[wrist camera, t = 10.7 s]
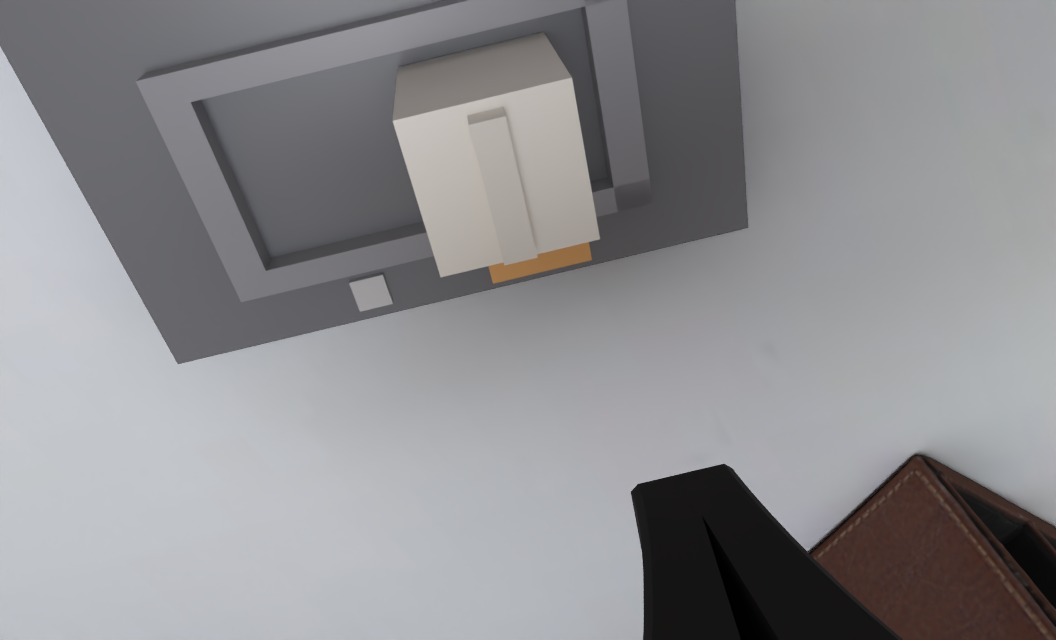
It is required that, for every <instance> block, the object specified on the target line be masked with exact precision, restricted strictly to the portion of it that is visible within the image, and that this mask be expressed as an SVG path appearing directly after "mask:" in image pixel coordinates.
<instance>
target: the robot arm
mask: <svg viewBox="0 0 1056 640" xmlns="http://www.w3.org/2000/svg"><path fill="white" fill-rule="evenodd" d="M631 495H632V501H633V506H634V511H635V517H636V522H637V527H638V533H639V538H640V543H641V549H642V557H643V572H644V635H643V640H903V639H902V638H901V637H899V636H898V635H897V634H896V633H895V632H894V631H892V630H891V629H890V628H889V627H888V626H887V625H886V624H884V623H883V622H882V621H881V620H880V619H879V618H878V617H876V616H875V615H874V614H873V613H872V612H871V611H869V610H868V609H867V608H866V607H865V606H864V605H863V604H862V603H861V602H860V601H858V600H857V599H856V598H855V597H854V596H853V595H852V594H851V593H850V592H849V591H847V590H846V589H845V588H844V587H843V586H842V585H841V584H840V583H839V582H838V581H837V580H836V579H835V578H834V577H833V576H832V575H831V574H830V573H829V572H828V571H827V570H826V569H824V568H823V567H822V566H821V565H820V564H819V563H818V562H817V561H816V560H815V559H814V558H813V557H812V556H811V555H810V554H809V553H808V552H807V551H806V550H805V549H804V548H803V547H802V546H801V545H800V544H799V543H798V542H797V541H796V540H795V539H794V538H793V537H792V536H791V535H790V534H789V533H788V532H787V531H786V529H785V528H784V527H783V526H782V525H781V524H780V523H779V522H778V521H777V520H776V519H775V518H774V517H773V516H772V515H771V513H770V512H769V511H768V510H767V509H766V508H765V507H764V506H763V505H762V503H761V502H760V501H759V500H758V499H757V498H756V497H755V495H754V494H753V493H752V492H751V491H750V490H749V488H748V487H747V486H746V485H745V484H744V483H743V481H742V480H741V479H740V478H739V476H738V475H737V474H736V473H735V471H734V470H733V469H732V468H731V467H729V466H727V465H725V464H721V465H717V466H713V467H709V468H704V469H700V470H696V471H692V472H687V473H683V474H679V475H675V476H670V477H666V478H662V479H658V480H653V481H649V482H645V483H641V484H638V485H637V486H636V487H635V488H634V489H633V490H632V491H631Z"/></svg>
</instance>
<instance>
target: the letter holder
mask: <svg viewBox="0 0 1056 640" xmlns="http://www.w3.org/2000/svg"><path fill="white" fill-rule="evenodd" d="M810 555H811V556H812V557H813V558H814V559H815V560H816V561H817V562H818V563H819V564H820V565H821V566H822V567H823V568H824V569H826V570H827V571H828V572H829V573H830V574H831V575H832V576H833V577H834V578H835V579H836V580H837V581H838V582H839V583H840V584H841V585H842V586H843V587H844V588H845V589H846V590H847V591H849V592H850V593H851V594H852V595H853V596H854V597H855V598H856V599H857V600H858V601H860V602H861V603H862V604H863V605H864V606H865V607H866V608H867V609H868V610H869V611H871V612H872V613H873V614H874V615H875V616H876V617H878V618H879V619H880V620H881V621H882V622H883V623H884V624H886V625H887V626H888V627H889V628H890V629H891V630H892V631H894V632H895V633H896V634H897V635H898V636H899V637H901V638H902V639H903V640H1056V528H1054V527H1053V526H1051V525H1049V524H1047V523H1046V522H1044V521H1042V520H1040V519H1039V518H1037V517H1035V516H1033V515H1031V514H1030V513H1028V512H1026V511H1024V510H1023V509H1021V508H1019V507H1017V506H1015V505H1013V504H1012V503H1010V502H1008V501H1006V500H1005V499H1003V498H1001V497H999V496H998V495H996V494H994V493H992V492H991V491H989V490H987V489H985V488H984V487H982V486H980V485H978V484H976V483H975V482H973V481H972V480H970V479H968V478H966V477H964V476H962V475H960V474H958V473H957V472H955V471H953V470H951V469H949V468H947V467H946V466H944V465H942V464H940V463H938V462H936V461H934V460H932V459H930V458H927V457H922V456H918V455H916V456H914V457H912V458H911V460H910V461H909V463H908V464H907V465H906V466H905V467H904V468H903V469H902V470H901V471H900V472H899V473H898V474H896V475H895V476H894V477H893V478H892V479H891V480H890V481H889V482H888V483H887V484H886V485H885V486H884V487H882V488H881V489H880V490H879V491H878V492H877V493H876V494H875V495H874V496H873V497H872V498H871V499H869V500H868V501H867V502H866V503H865V504H864V505H863V506H862V507H861V508H860V509H858V510H857V511H856V512H855V513H854V514H853V515H852V516H851V517H850V518H848V519H847V520H846V521H845V522H844V523H843V524H842V525H841V526H840V527H839V528H838V529H836V530H835V531H834V532H833V533H832V534H831V535H830V536H829V537H828V538H827V539H826V540H825V541H823V542H822V543H821V544H820V545H819V546H818V547H817V548H816V549H815V550H813V551H812V552H811V553H810Z"/></svg>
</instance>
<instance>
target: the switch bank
mask: <svg viewBox="0 0 1056 640" xmlns="http://www.w3.org/2000/svg"><path fill="white" fill-rule="evenodd" d="M540 32H544V34H545V35H546V37H547V38H548V40H549V42H550V43H551V45H552V46H553V48H554V50H555V51H556V53H557V54H558V56H559V58H560V59H561V61H562V62H563V64H564V66H565V67H566V69H567V70H568V72H569V74H570V75H571V77H572V81H573V87H574V92H575V98H576V104H577V110H578V115H579V121H580V127H581V132H582V138H583V144H584V150H585V155H586V161H587V167H588V173H589V178H590V184H591V190H592V196H593V201H594V207H595V213H596V219H597V224H598V230H599V236H600V239H599V240H595V241H591V242H587V243H583V244H578V245H574V246H570V247H566V248H562V249H558V250H553V251H549V252H545V253H541V254H537V257H538V258H534V259H530V260H526V261H521V262H517V263H513V264H509V265H505V266H504V262H503V263H499V264H495V265H491V266H487V267H482V268H478V269H474V270H470V271H466V272H462V273H457V274H453V275H449V276H445V277H440V274H439V270H438V267H437V264H436V261H435V257H434V254H433V251H432V248H431V244H430V241H429V238H428V235H427V231H426V228H425V225H424V222H423V218H422V215H421V212H420V209H419V205H418V202H417V199H416V196H415V192H414V189H413V186H412V183H411V179H410V176H409V173H408V170H407V166H406V163H405V160H404V157H403V153H402V150H401V147H400V144H399V140H398V137H397V134H396V131H395V127H394V124H393V111H394V100H395V90H396V80H397V70H398V67H400V66H404V65H408V64H413V63H417V62H421V61H425V60H429V59H433V58H437V57H441V56H446V55H450V54H454V53H458V52H462V51H466V50H470V49H474V48H478V47H483V46H487V45H491V44H495V43H499V42H503V41H507V40H511V39H516V38H520V37H524V36H528V35H532V34H536V33H540ZM0 46H1V48H2V50H3V52H4V53H5V55H6V57H7V59H8V61H9V62H10V64H11V66H12V68H13V70H14V71H15V73H16V75H17V77H18V79H19V80H20V82H21V84H22V86H23V87H24V89H25V91H26V93H27V95H28V96H29V98H30V100H31V102H32V104H33V105H34V107H35V109H36V111H37V113H38V114H39V116H40V118H41V120H42V122H43V123H44V125H45V127H46V129H47V130H48V132H49V134H50V136H51V138H52V139H53V141H54V143H55V145H56V147H57V148H58V150H59V152H60V154H61V156H62V157H63V159H64V161H65V163H66V165H67V166H68V168H69V170H70V172H71V173H72V175H73V177H74V179H75V181H76V182H77V184H78V186H79V188H80V190H81V191H82V193H83V195H84V197H85V199H86V200H87V202H88V204H89V206H90V208H91V209H92V211H93V213H94V215H95V216H96V218H97V220H98V222H99V224H100V225H101V227H102V229H103V231H104V233H105V234H106V236H107V238H108V240H109V242H110V243H111V245H112V247H113V249H114V251H115V252H116V254H117V256H118V258H119V259H120V261H121V263H122V265H123V267H124V268H125V270H126V272H127V274H128V276H129V277H130V279H131V281H132V283H133V285H134V286H135V288H136V290H137V292H138V294H139V295H140V297H141V299H142V301H143V302H144V304H145V306H146V308H147V310H148V311H149V313H150V315H151V317H152V319H153V320H154V322H155V324H156V326H157V328H158V329H159V331H160V333H161V335H162V337H163V338H164V340H165V342H166V344H167V345H168V347H169V349H170V351H171V353H172V354H173V356H174V358H175V360H176V362H177V363H178V364H181V363H185V362H189V361H193V360H197V359H202V358H206V357H210V356H214V355H218V354H222V353H227V352H231V351H235V350H239V349H243V348H248V347H252V346H256V345H260V344H264V343H268V342H273V341H277V340H281V339H285V338H289V337H293V336H298V335H302V334H306V333H310V332H314V331H319V330H323V329H327V328H331V327H335V326H339V325H344V324H348V323H352V322H356V321H360V320H364V319H369V318H373V317H377V316H381V315H385V314H390V313H394V312H398V311H402V310H406V309H410V308H415V307H419V306H423V305H427V304H431V303H436V302H440V301H444V300H448V299H452V298H456V297H461V296H465V295H469V294H473V293H477V292H481V291H486V290H490V289H494V288H498V287H502V286H507V285H511V284H515V283H519V282H523V281H527V280H532V279H536V278H540V277H544V276H548V275H553V274H557V273H561V272H565V271H569V270H573V269H578V268H582V267H586V266H590V265H594V264H598V263H603V262H607V261H611V260H615V259H619V258H624V257H628V256H632V255H636V254H640V253H644V252H649V251H653V250H657V249H661V248H665V247H669V246H674V245H678V244H682V243H686V242H690V241H695V240H699V239H703V238H707V237H711V236H715V235H720V234H724V233H728V232H732V231H736V230H741V229H745V228H748V217H747V199H746V182H745V165H744V148H743V130H742V113H741V96H740V78H739V61H738V44H737V26H736V9H735V0H0Z"/></svg>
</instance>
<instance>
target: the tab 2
mask: <svg viewBox="0 0 1056 640" xmlns="http://www.w3.org/2000/svg"><path fill="white" fill-rule="evenodd" d="M393 124H394V127H395V131H396V134H397V137H398V140H399V144H400V147H401V150H402V153H403V157H404V160H405V163H406V166H407V170H408V173H409V176H410V179H411V183H412V186H413V189H414V192H415V196H416V199H417V202H418V205H419V209H420V212H421V215H422V218H423V222H424V225H425V228H426V231H427V235H428V238H429V241H430V244H431V248H432V251H433V254H434V257H435V261H436V264H437V267H438V270H439V274H440V277H445V276H449V275H453V274H457V273H462V272H466V271H470V270H474V269H478V268H482V267H487V266H491V265H495V264H499V263H503V262H504V266H505V265H509V264H513V263H517V262H521V261H526V260H530V259H534V258H538V257H537V254H541V253H545V252H549V251H553V250H558V249H562V248H566V247H570V246H574V245H578V244H583V243H587V242H591V241H595V240H599V239H600V236H599V230H598V224H597V219H596V213H595V207H594V201H593V196H592V190H591V184H590V178H589V173H588V167H587V161H586V155H585V150H584V144H583V138H582V132H581V127H580V121H579V115H578V110H577V104H576V98H575V92H574V87H573V81H572V77H571V75H570V74H569V72H568V70H567V69H566V67H565V66H564V64H563V62H562V61H561V59H560V58H559V56H558V54H557V53H556V51H555V50H554V48H553V46H552V45H551V43H550V42H549V40H548V38H547V37H546V35H545V34H544V32H540V33H536V34H532V35H528V36H524V37H520V38H516V39H511V40H507V41H503V42H499V43H495V44H491V45H487V46H483V47H478V48H474V49H470V50H466V51H462V52H458V53H454V54H450V55H446V56H441V57H437V58H433V59H429V60H425V61H421V62H417V63H413V64H408V65H404V66H400V67H398V70H397V80H396V90H395V100H394V111H393Z"/></svg>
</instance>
